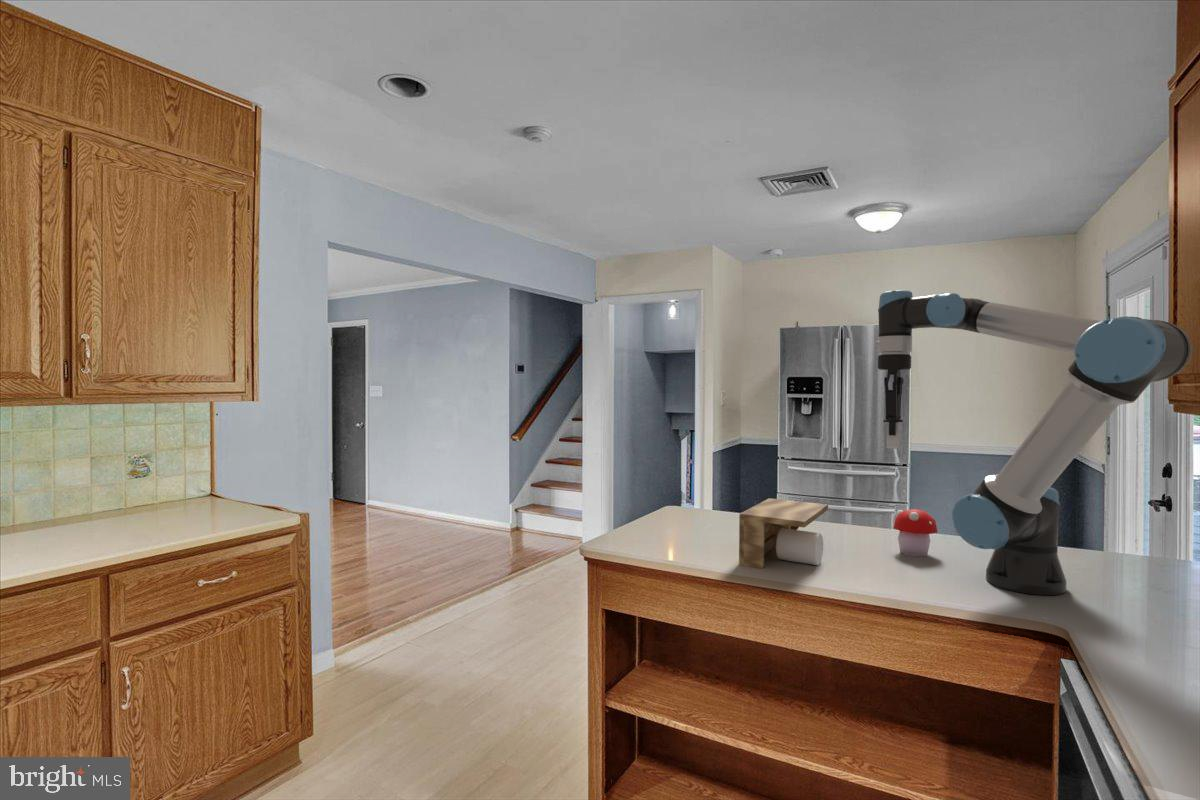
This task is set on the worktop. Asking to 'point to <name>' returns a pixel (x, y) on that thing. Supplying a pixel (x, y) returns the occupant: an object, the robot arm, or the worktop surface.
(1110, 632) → the worktop surface
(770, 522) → the small wooden shelf
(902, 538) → the mushroom
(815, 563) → the mug
